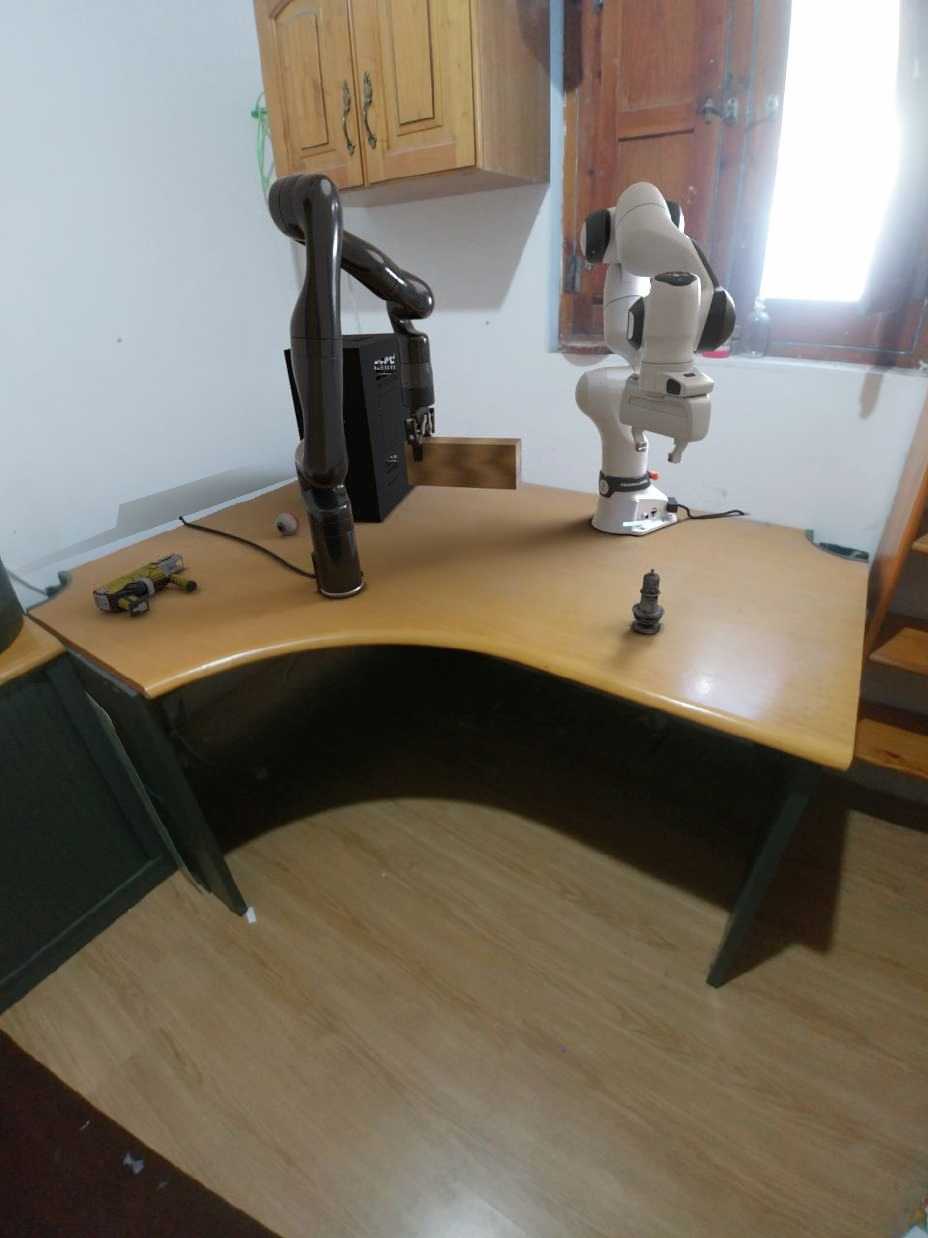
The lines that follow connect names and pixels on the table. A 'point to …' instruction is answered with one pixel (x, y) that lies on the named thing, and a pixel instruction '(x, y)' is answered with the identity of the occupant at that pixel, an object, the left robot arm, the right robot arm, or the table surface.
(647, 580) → the grey chess piece
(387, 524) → the table surface
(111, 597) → the toy gun
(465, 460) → the box
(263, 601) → the table surface
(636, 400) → the right robot arm
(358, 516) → the cardboard box
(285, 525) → the eyeball
